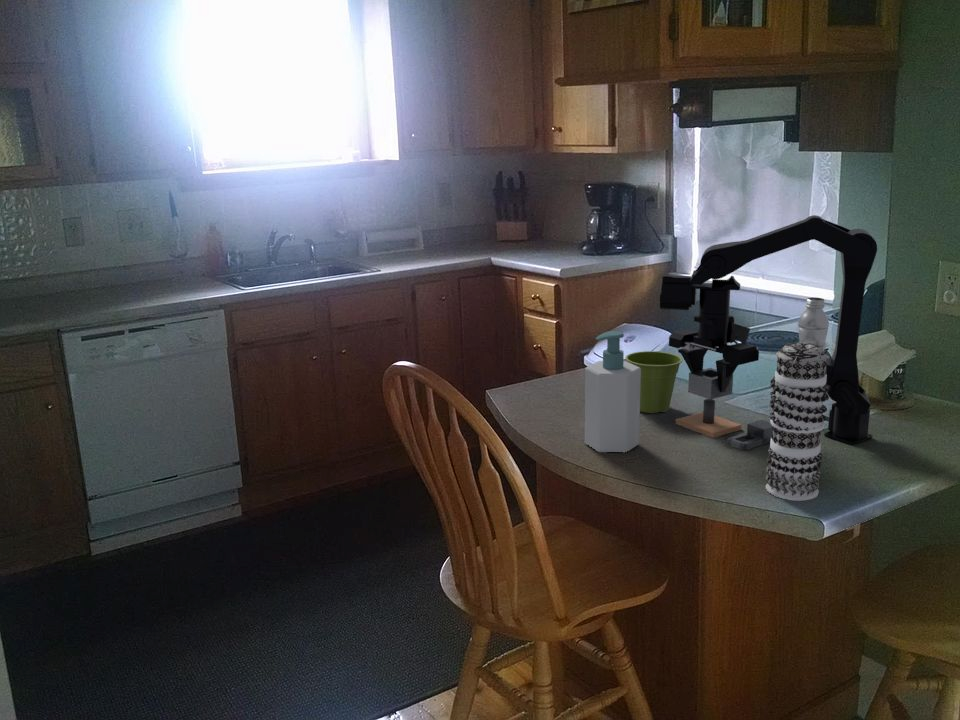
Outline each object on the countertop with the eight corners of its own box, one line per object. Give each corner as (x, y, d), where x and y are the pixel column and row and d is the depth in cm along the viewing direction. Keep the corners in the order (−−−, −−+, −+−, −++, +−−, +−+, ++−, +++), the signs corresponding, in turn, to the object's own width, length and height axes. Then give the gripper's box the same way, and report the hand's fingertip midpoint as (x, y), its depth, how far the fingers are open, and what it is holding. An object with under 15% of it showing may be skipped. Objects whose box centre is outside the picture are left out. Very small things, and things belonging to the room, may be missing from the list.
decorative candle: (776, 503, 148) (787, 355, 141) (754, 481, 157) (763, 340, 150) (830, 500, 149) (844, 352, 142) (805, 478, 158) (817, 337, 151)
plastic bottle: (828, 388, 206) (836, 301, 200) (798, 389, 206) (805, 302, 200) (819, 380, 212) (826, 295, 206) (789, 380, 212) (795, 296, 207)
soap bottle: (577, 439, 178) (578, 330, 172) (617, 432, 182) (620, 324, 176) (604, 457, 169) (606, 342, 163) (646, 449, 173) (650, 336, 167)
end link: (732, 393, 181) (733, 374, 180) (710, 399, 178) (711, 379, 177) (709, 386, 186) (710, 367, 185) (688, 392, 182) (688, 372, 181)
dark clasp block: (777, 439, 176) (778, 425, 175) (743, 450, 171) (744, 435, 170) (760, 434, 179) (761, 419, 178) (726, 444, 174) (727, 429, 173)
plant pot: (685, 417, 189) (687, 365, 186) (627, 418, 190) (628, 366, 187) (675, 399, 201) (677, 350, 198) (621, 400, 201) (622, 350, 198)
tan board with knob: (741, 429, 182) (742, 403, 180) (712, 437, 177) (714, 411, 176) (703, 416, 190) (704, 390, 188) (675, 424, 186) (676, 398, 184)
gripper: (780, 313, 174) (775, 391, 178) (707, 298, 189) (704, 370, 193) (740, 322, 168) (736, 402, 172) (668, 305, 183) (665, 380, 187)
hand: (710, 388), depth 181 cm, fingers closed on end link, 6 cm apart
